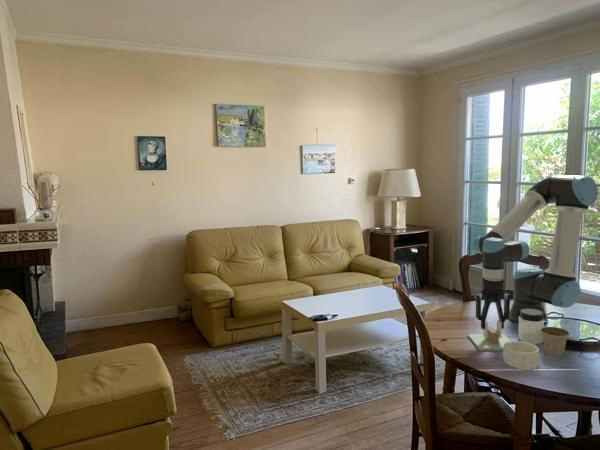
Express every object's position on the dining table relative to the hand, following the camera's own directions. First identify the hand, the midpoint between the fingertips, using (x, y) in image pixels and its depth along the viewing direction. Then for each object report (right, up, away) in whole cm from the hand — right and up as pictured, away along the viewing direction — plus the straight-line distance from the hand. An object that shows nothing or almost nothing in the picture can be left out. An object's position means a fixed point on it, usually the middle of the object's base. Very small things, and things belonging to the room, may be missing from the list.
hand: (492, 336), depth 173 cm
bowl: (+3, -5, -17) cm, 18 cm away
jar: (+16, -3, +2) cm, 17 cm away
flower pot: (+18, -4, -10) cm, 21 cm away
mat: (0, -3, 0) cm, 3 cm away
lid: (0, -3, 0) cm, 3 cm away
